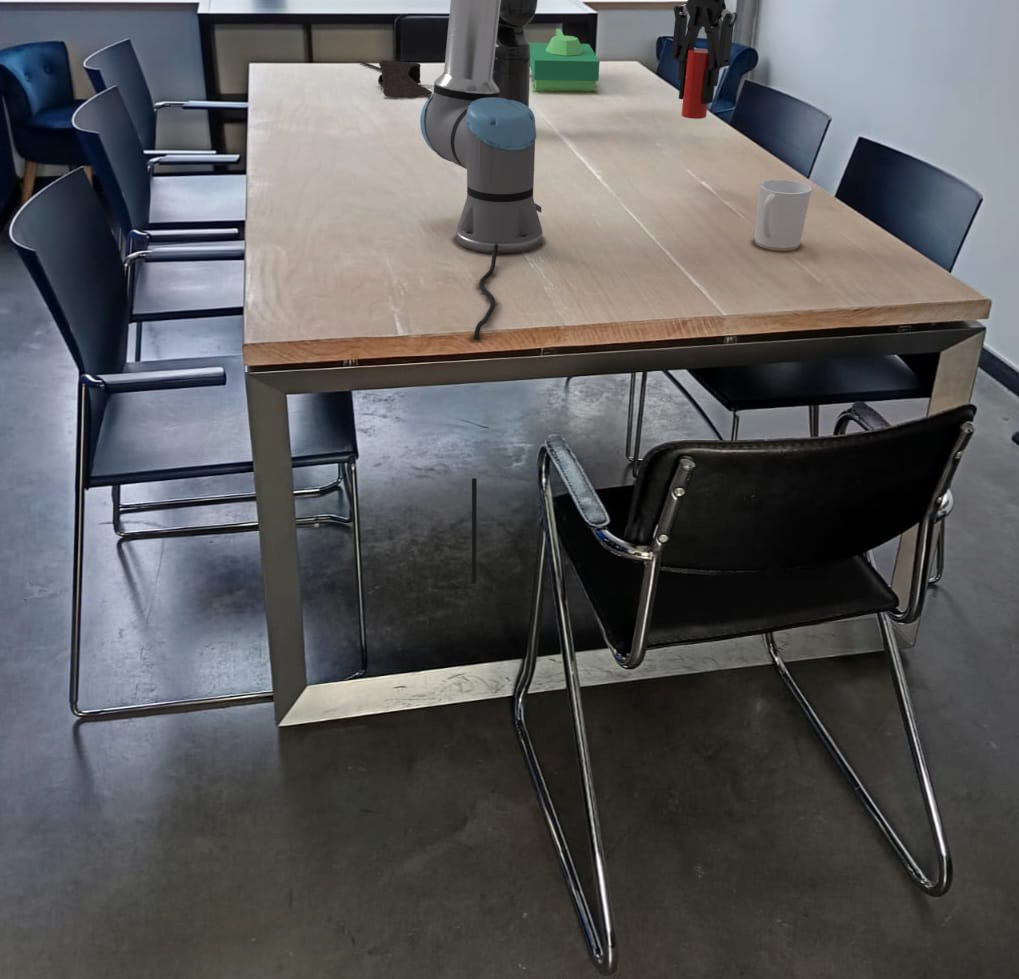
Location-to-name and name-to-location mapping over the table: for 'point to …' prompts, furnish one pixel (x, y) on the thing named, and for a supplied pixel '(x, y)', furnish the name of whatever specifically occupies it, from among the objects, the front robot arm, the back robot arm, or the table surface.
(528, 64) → the back robot arm
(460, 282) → the table surface
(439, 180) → the table surface
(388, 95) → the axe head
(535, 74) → the toy tank
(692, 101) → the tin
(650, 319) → the table surface
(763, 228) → the mug
